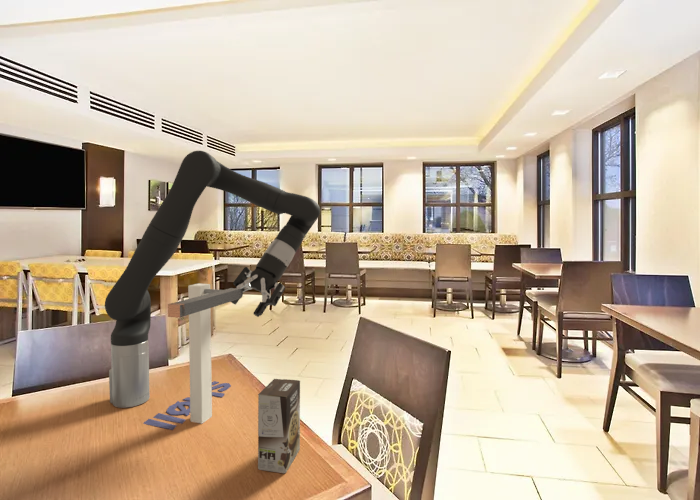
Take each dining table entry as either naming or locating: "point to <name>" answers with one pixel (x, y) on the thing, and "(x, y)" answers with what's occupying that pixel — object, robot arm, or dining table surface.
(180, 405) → the signage
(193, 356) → the stand
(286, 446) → the coffee box
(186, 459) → the dining table surface
